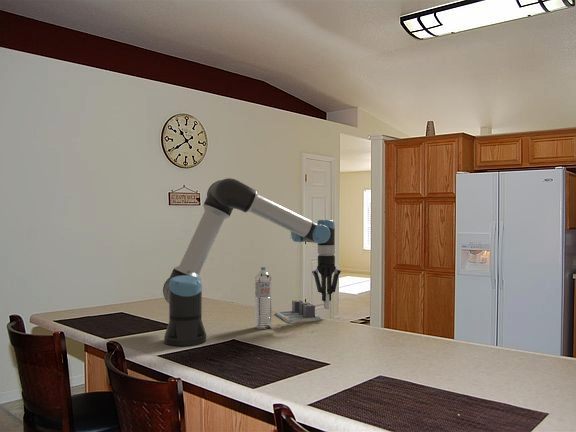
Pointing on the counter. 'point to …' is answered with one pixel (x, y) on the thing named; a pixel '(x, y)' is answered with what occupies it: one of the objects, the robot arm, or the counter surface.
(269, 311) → the water bottle
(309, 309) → the dark grey rectangular block
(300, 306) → the tab mid
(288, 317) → the switch bank
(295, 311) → the tab far
